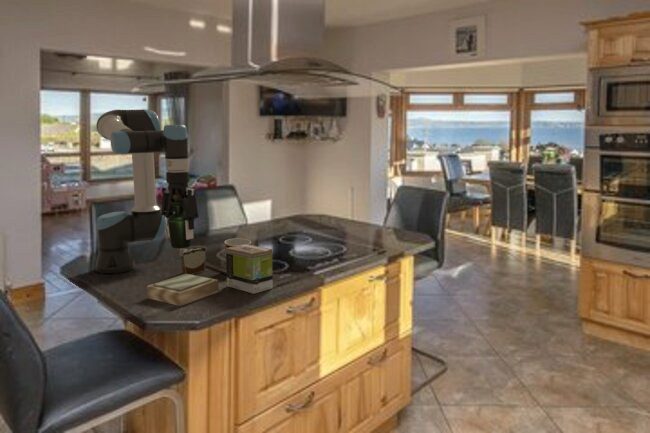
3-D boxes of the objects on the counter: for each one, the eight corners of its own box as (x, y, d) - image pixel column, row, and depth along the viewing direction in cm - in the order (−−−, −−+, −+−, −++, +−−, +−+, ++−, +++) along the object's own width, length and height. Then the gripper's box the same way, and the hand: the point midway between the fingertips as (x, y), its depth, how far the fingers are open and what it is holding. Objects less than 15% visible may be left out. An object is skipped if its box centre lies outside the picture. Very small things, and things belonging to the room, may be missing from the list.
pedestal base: (147, 298, 189) (146, 284, 188) (186, 285, 204) (185, 272, 203) (180, 306, 180) (179, 291, 180) (218, 291, 196) (218, 278, 195)
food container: (198, 267, 229) (197, 244, 227) (207, 270, 225) (206, 246, 223) (173, 274, 219) (172, 249, 217) (182, 276, 215) (181, 251, 214)
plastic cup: (232, 274, 218) (231, 244, 216) (220, 268, 227) (219, 240, 225) (256, 270, 224) (256, 241, 222) (244, 264, 233) (243, 237, 231)
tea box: (274, 288, 199) (273, 248, 197) (252, 294, 192) (251, 253, 190) (247, 280, 209) (245, 242, 207) (226, 286, 202) (224, 247, 200)
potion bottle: (178, 243, 194) (175, 192, 191) (198, 244, 191) (195, 193, 188) (163, 248, 187) (160, 195, 184) (184, 249, 184) (181, 196, 181)
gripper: (147, 170, 187) (151, 236, 191) (191, 173, 176) (194, 242, 180) (164, 169, 193) (168, 232, 197) (208, 171, 183) (210, 238, 186)
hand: (180, 237), depth 189 cm, fingers closed on potion bottle, 8 cm apart
